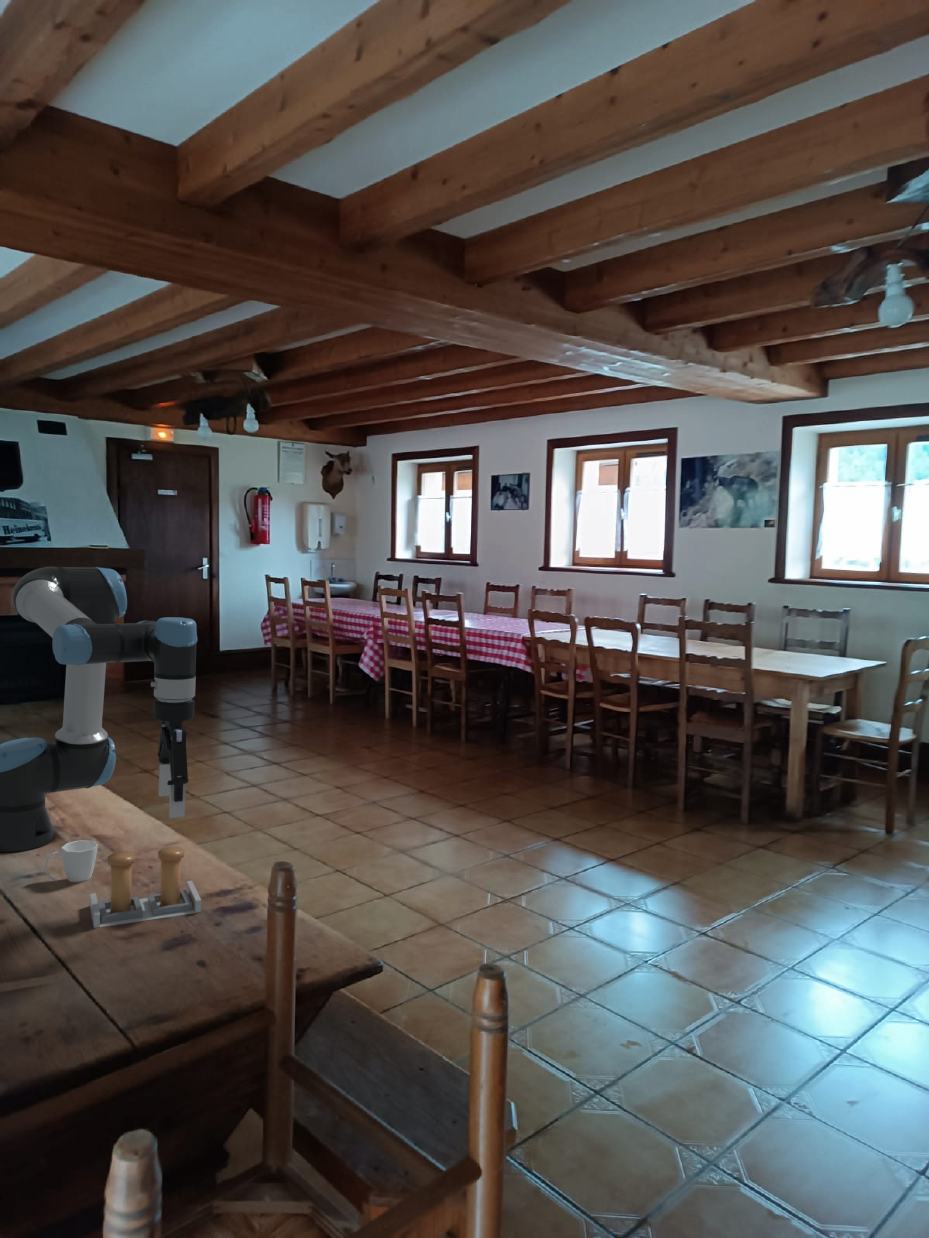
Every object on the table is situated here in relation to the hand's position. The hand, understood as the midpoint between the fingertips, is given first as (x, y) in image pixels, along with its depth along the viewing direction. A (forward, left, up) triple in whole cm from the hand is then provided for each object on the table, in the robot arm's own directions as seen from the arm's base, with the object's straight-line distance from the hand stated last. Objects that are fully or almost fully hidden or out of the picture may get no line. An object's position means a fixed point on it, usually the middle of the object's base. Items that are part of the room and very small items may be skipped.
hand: (171, 806), depth 165 cm
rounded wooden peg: (+1, -9, -20) cm, 22 cm away
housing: (+1, -4, -21) cm, 21 cm away
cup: (-19, -16, -21) cm, 33 cm away
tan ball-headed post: (+1, 0, -20) cm, 20 cm away
